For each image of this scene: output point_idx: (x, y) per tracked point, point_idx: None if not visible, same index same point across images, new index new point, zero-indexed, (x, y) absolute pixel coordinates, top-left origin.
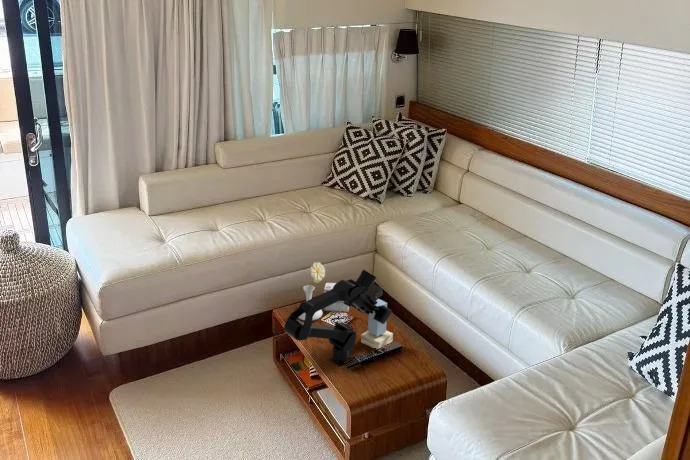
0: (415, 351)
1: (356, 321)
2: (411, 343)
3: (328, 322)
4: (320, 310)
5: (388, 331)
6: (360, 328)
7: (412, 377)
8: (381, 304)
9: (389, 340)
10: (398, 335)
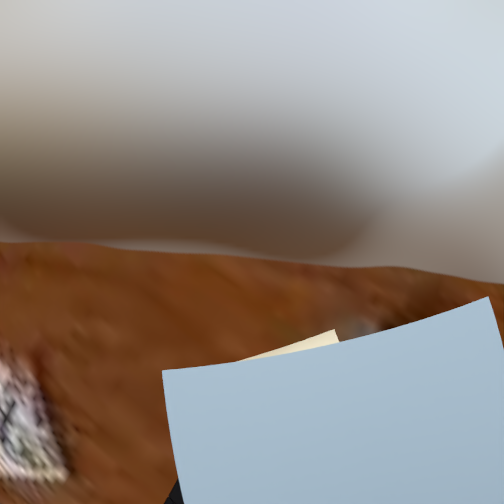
0: (439, 291)
1: (57, 378)
2: (380, 269)
3: (14, 472)
4: None
5: (300, 343)
6: (115, 410)
7: None
8: (491, 450)
9: None
10: (289, 282)
